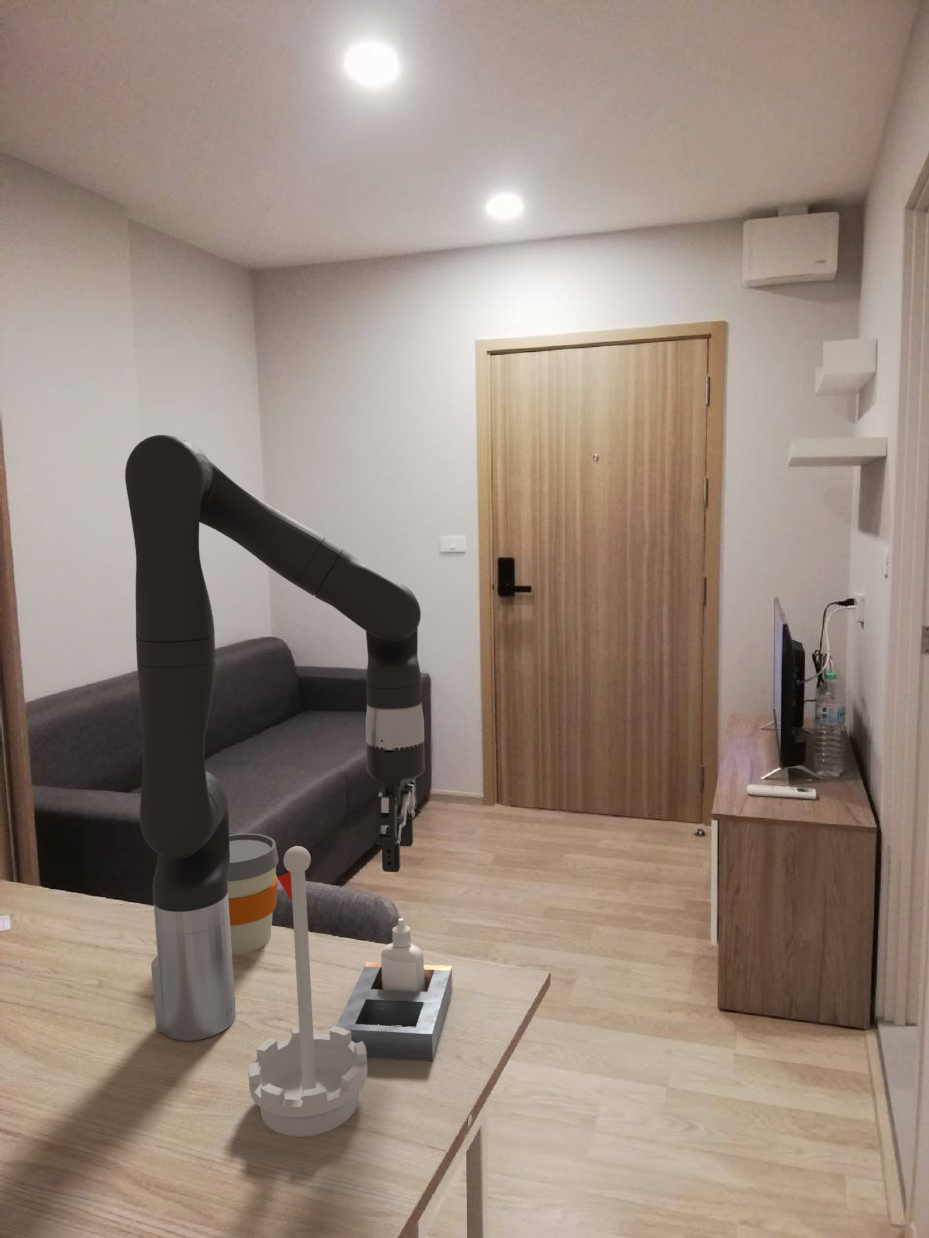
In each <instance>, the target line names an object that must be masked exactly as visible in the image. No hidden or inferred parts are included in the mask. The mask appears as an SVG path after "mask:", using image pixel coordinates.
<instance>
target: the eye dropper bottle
mask: <svg viewBox="0 0 929 1238" xmlns="http://www.w3.org/2000/svg"><path fill="white" fill-rule="evenodd" d="M391 930H392V931H391V933H392V934H391V935H392V937H391V938H392V942H391V943H388V944H387V945H385V947H383V949H382V951H381V954H380V955H381V957H380V958H381V960H380V961H381V962H380V963H381V967H382V990H398V991H419V992H425V981H424V965H425V961H424V953H423V950H422V949H421V948H420V947H418V946H417V945H415V944H413V943H412V937H411V934H412V933H411V928H410V926H408V925H406V924H405V919H404V918H403V917H399V918H398V920H397V925H395V926H394V927H392V929H391Z"/></svg>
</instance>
